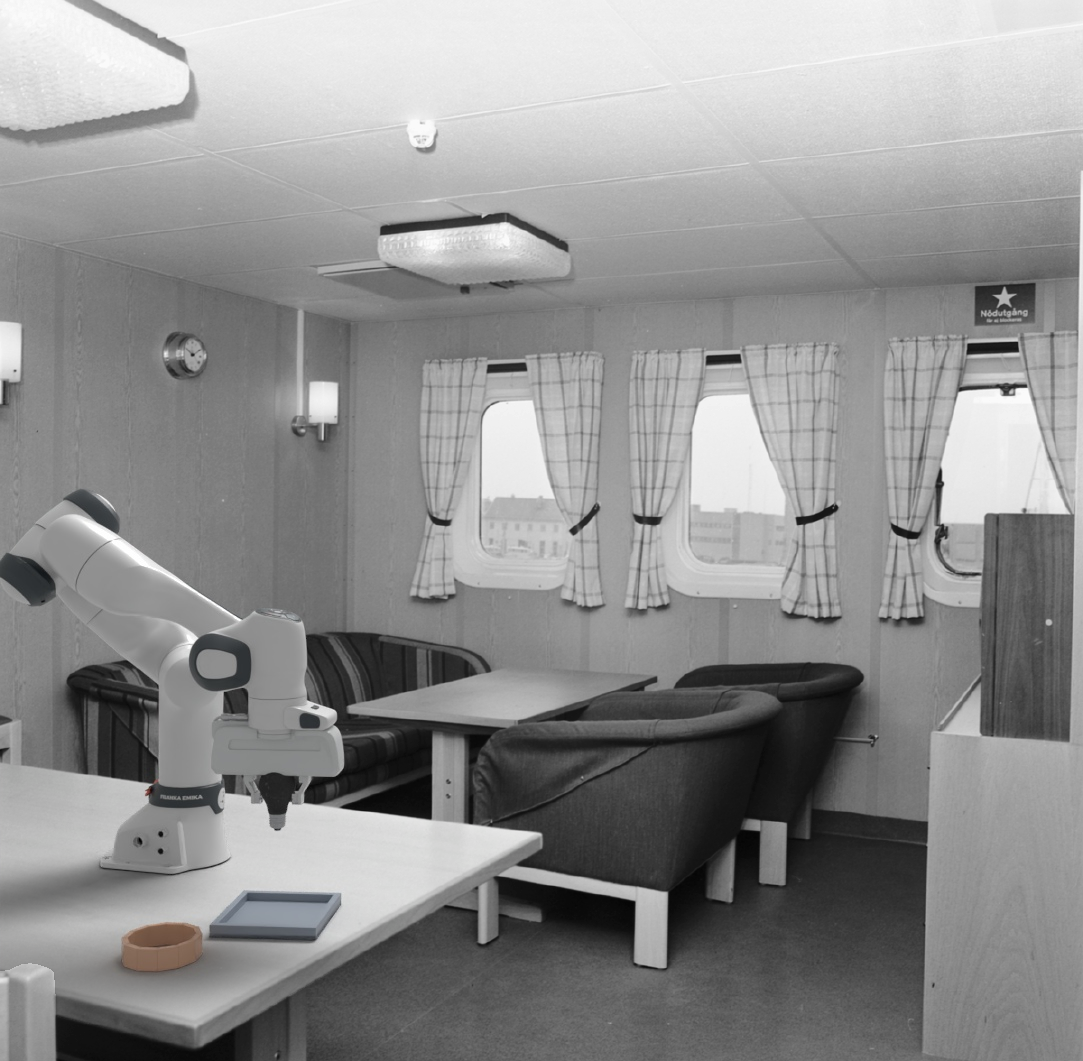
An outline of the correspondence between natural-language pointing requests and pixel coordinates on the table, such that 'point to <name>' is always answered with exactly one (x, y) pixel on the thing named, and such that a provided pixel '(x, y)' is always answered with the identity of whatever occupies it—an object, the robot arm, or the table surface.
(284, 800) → the light bulb
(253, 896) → the tray
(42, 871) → the table surface
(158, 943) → the ring
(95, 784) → the table surface
